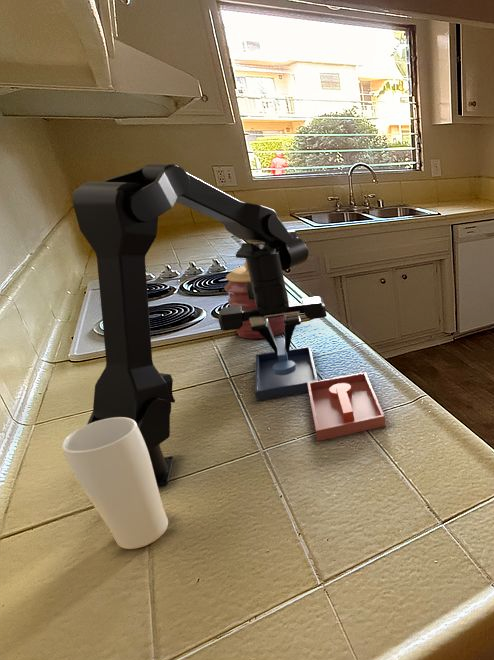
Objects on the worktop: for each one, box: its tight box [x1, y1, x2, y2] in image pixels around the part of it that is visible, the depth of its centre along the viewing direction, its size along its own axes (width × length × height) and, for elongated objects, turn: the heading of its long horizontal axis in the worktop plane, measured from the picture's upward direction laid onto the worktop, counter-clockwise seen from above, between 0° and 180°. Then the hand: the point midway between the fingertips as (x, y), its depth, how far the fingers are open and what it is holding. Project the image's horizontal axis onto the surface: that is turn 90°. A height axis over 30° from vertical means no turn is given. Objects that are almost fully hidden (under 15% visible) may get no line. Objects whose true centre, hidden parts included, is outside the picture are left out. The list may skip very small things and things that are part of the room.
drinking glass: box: [60, 417, 169, 550], centre depth 53 cm, size 7×7×15 cm
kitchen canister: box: [223, 260, 285, 340], centre depth 111 cm, size 13×13×18 cm
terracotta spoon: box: [329, 383, 354, 423], centre depth 82 cm, size 13×4×2 cm, turn 23°
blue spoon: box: [272, 337, 296, 375], centre depth 91 cm, size 13×4×2 cm, turn 23°
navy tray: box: [254, 346, 319, 402], centre depth 93 cm, size 17×11×2 cm, turn 23°
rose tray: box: [307, 371, 387, 442], centre depth 82 cm, size 17×11×2 cm, turn 23°
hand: (282, 352), depth 93 cm, fingers closed on blue spoon, 2 cm apart
